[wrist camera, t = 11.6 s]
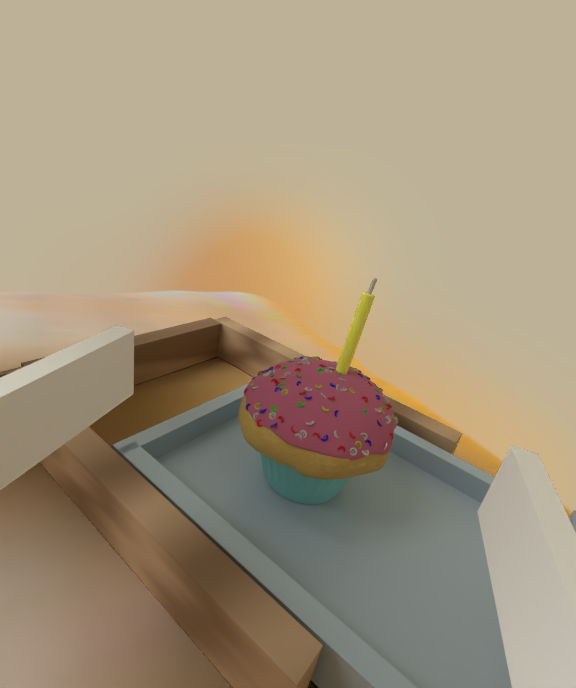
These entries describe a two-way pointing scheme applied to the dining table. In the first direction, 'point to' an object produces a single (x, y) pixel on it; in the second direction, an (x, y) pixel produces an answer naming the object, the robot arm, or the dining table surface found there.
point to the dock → (184, 537)
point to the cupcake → (318, 421)
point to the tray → (347, 550)
